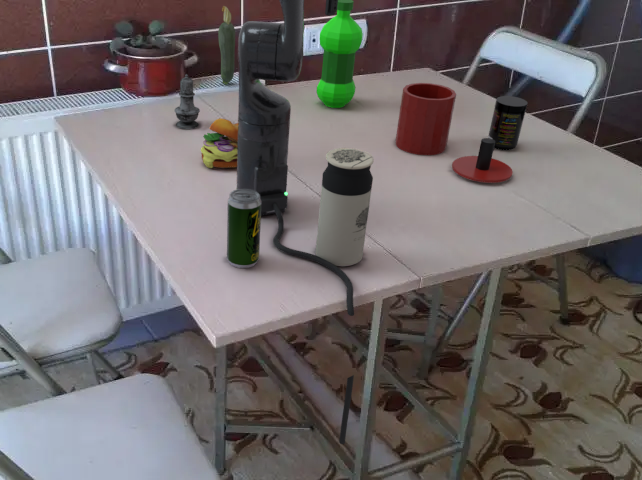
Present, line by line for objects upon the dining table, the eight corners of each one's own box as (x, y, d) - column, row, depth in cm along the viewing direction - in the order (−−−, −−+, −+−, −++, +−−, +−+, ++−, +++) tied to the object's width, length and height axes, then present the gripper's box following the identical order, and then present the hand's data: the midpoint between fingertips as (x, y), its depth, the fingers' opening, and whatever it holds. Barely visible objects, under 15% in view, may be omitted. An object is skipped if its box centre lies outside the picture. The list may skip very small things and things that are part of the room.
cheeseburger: (187, 160, 157) (195, 113, 153) (223, 159, 164) (231, 113, 161) (220, 175, 151) (229, 126, 147) (256, 172, 159) (265, 126, 155)
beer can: (223, 267, 122) (224, 201, 116) (230, 250, 127) (231, 186, 120) (256, 270, 122) (259, 204, 115) (261, 254, 126) (264, 190, 119)
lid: (522, 174, 157) (531, 142, 153) (490, 191, 150) (498, 157, 146) (472, 156, 165) (479, 125, 161) (439, 170, 157) (445, 138, 153)
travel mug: (305, 253, 127) (314, 154, 117) (338, 239, 131) (349, 143, 121) (338, 273, 122) (350, 171, 112) (371, 258, 126) (386, 159, 116)
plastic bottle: (305, 103, 189) (313, -1, 175) (334, 95, 195) (344, -6, 181) (334, 114, 183) (345, 8, 169) (363, 105, 189) (375, 2, 175)
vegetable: (237, 86, 198) (238, 7, 187) (222, 88, 196) (223, 9, 185) (229, 81, 201) (230, 4, 190) (215, 83, 199) (215, 5, 188)
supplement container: (522, 150, 168) (533, 105, 162) (494, 152, 167) (505, 106, 161) (507, 139, 174) (518, 95, 168) (481, 140, 172) (490, 96, 167)
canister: (455, 147, 169) (466, 92, 162) (425, 159, 162) (435, 103, 155) (415, 132, 175) (424, 79, 168) (385, 143, 169) (393, 89, 162)
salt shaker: (198, 130, 172) (198, 78, 165) (173, 129, 172) (171, 77, 165) (201, 120, 176) (200, 70, 170) (176, 119, 176) (174, 69, 170)
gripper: (279, -86, 139) (275, 5, 148) (336, -76, 131) (327, 20, 140) (307, -88, 143) (301, 1, 152) (364, -79, 135) (354, 15, 144)
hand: (314, 10), depth 146 cm, fingers open, 8 cm apart
